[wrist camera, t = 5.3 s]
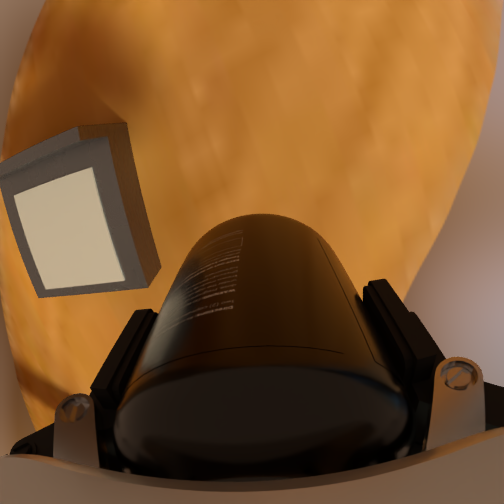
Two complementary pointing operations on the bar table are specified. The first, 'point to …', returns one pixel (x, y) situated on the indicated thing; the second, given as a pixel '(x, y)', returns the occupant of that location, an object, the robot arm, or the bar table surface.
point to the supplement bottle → (262, 366)
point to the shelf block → (80, 213)
